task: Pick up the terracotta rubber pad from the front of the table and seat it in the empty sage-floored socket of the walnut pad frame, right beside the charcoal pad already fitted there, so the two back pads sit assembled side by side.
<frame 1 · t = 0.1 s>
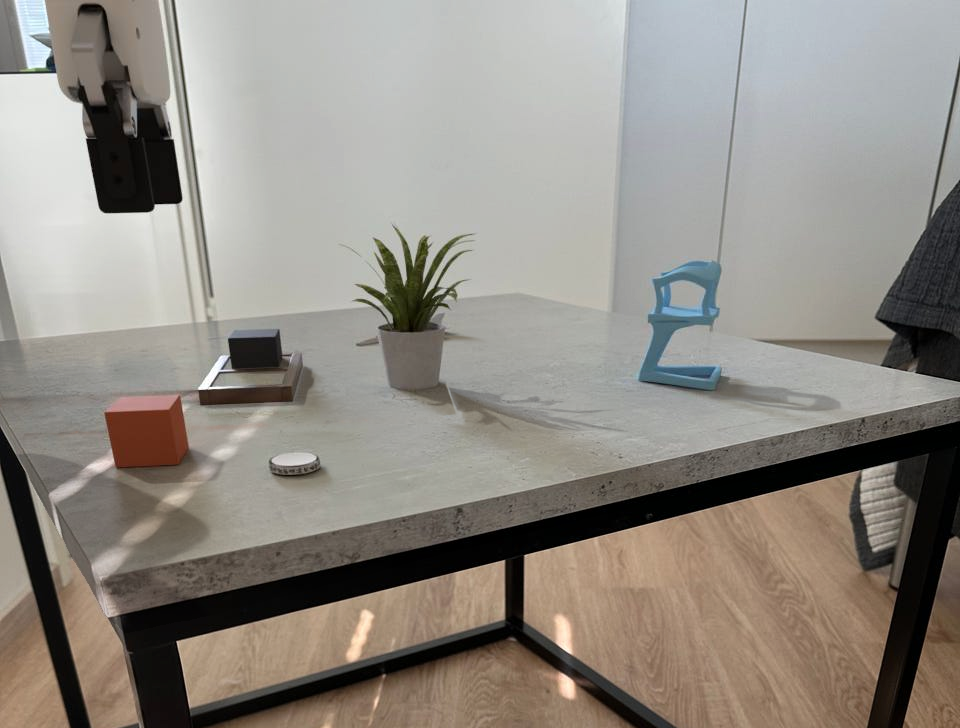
hand: (144, 207, 60), 19 cm above the table, tool pointing down, fingers open, 9 cm apart
washi tape: (295, 469, 73), on the table
toy airplane: (413, 338, 124), on the table
charcoal pad: (259, 375, 102), resting on pad frame
house plant: (426, 390, 97), on the table
terracotta pad: (153, 457, 77), on the table
chair: (678, 382, 99), on the table
pad frame: (256, 388, 98), on the table
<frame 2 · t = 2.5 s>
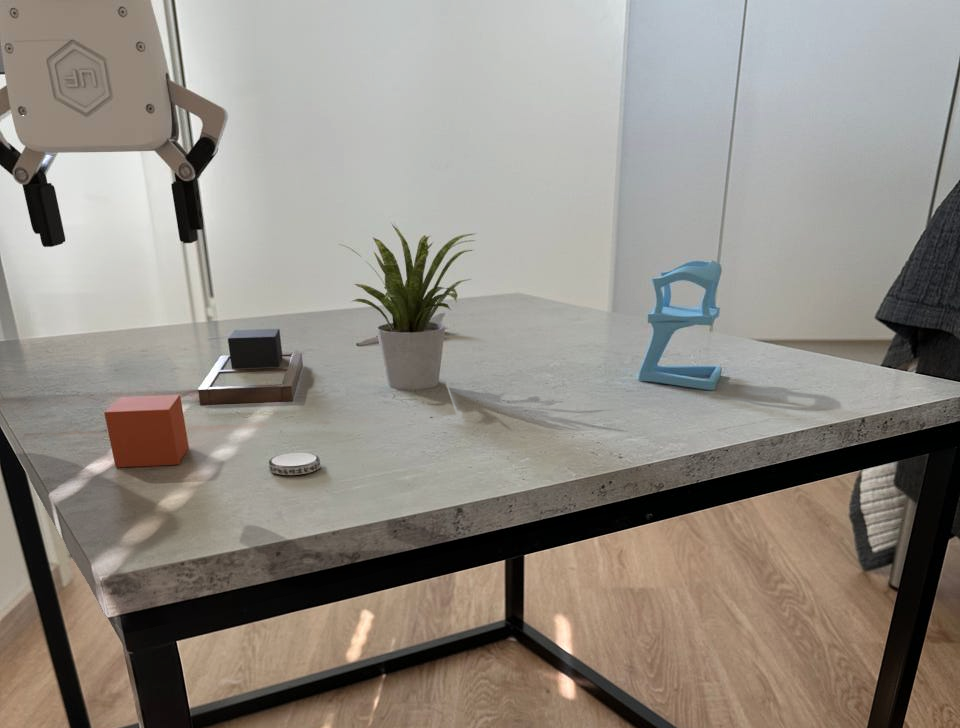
hand: (122, 243, 67), 17 cm above the table, tool pointing down, fingers open, 9 cm apart
nothing on the table moved.
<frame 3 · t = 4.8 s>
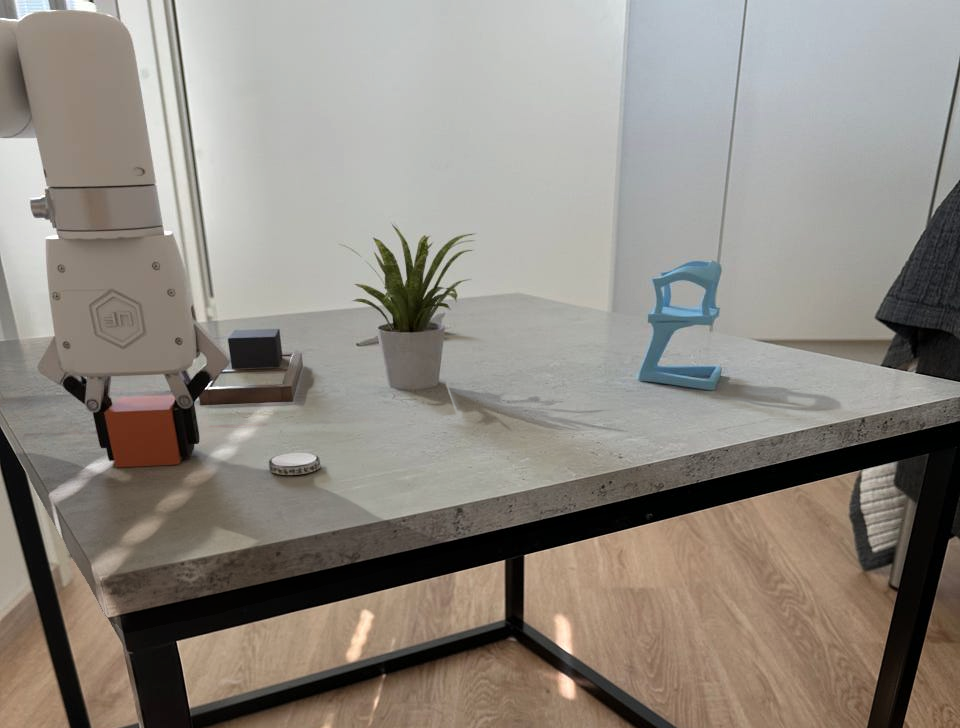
hand: (152, 452, 76), 0 cm above the table, tool pointing down, fingers closed on terracotta pad, 5 cm apart
terracotta pad: (153, 457, 77), on the table, touching gripper
everything else where it was.
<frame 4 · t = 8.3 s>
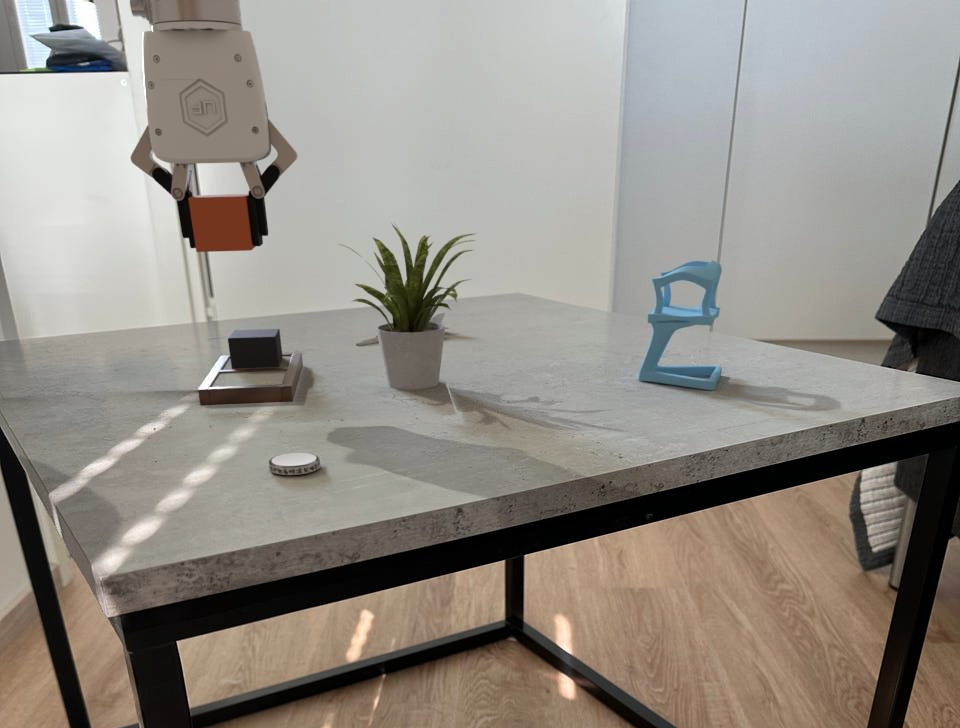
hand: (227, 243, 87), 15 cm above the table, tool pointing down, fingers closed on terracotta pad, 5 cm apart
terracotta pad: (227, 248, 87), point 14 cm above the table, touching gripper
everything else where it was.
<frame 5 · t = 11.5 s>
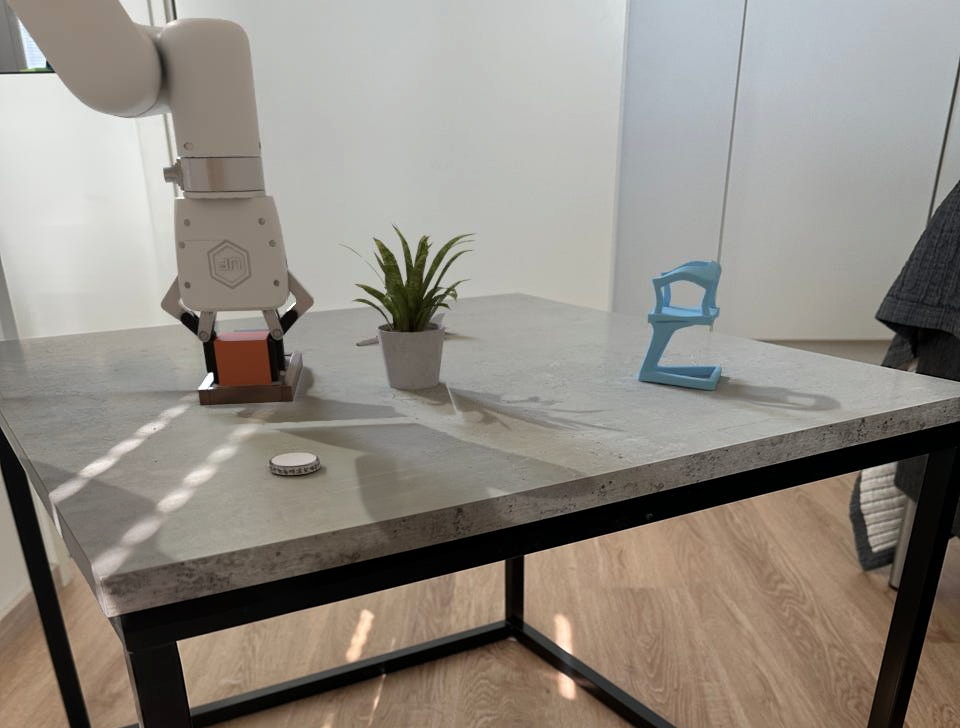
hand: (247, 377, 94), 2 cm above the table, tool pointing down, fingers closed on terracotta pad, 5 cm apart
terracotta pad: (248, 381, 94), point 2 cm above the table, touching gripper
everything else where it was.
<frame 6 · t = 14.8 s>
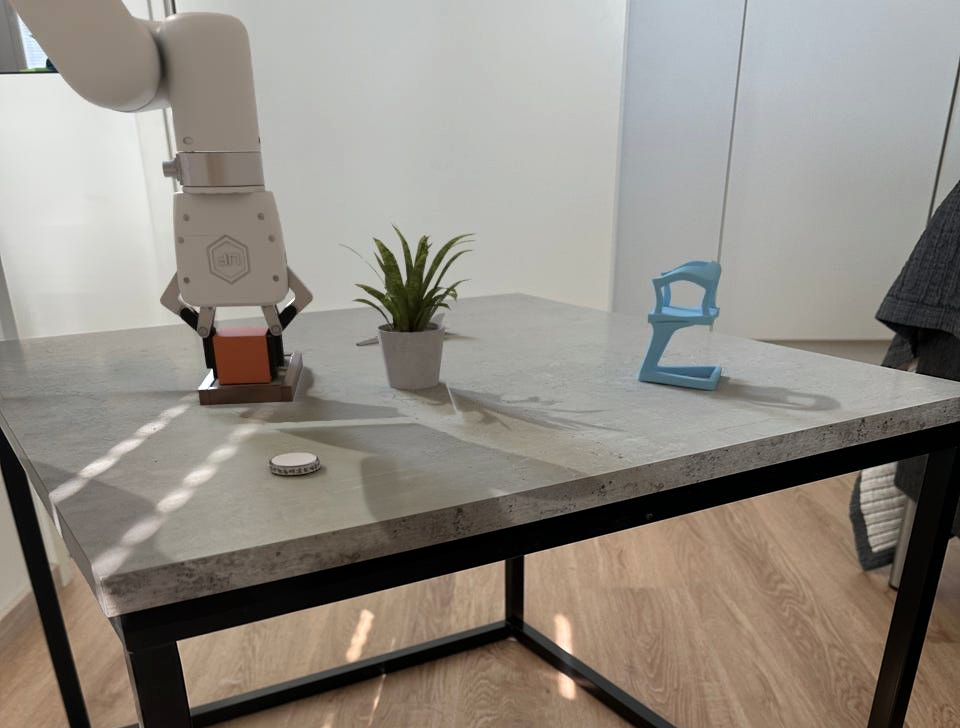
hand: (247, 373, 94), 2 cm above the table, tool pointing down, fingers closed on terracotta pad, 4 cm apart
terracotta pad: (247, 377, 94), point 2 cm above the table, touching gripper
everything else where it was.
when the fingers open (2 cm above the table, at t = 17.9 s): terracotta pad drops 1 cm, resting on pad frame.
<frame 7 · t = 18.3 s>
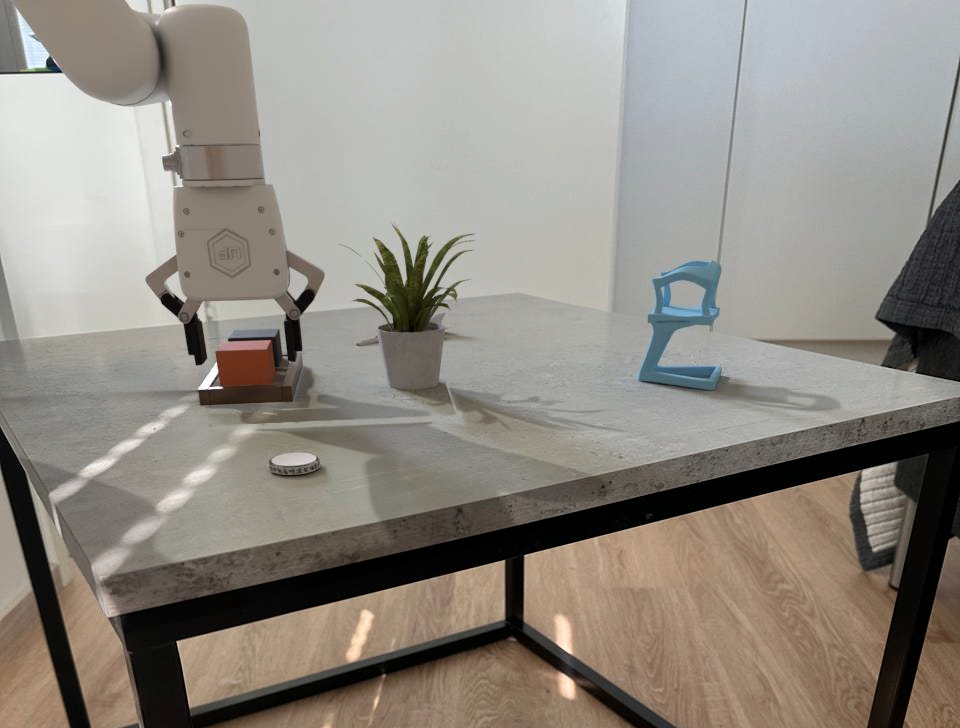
hand: (247, 360, 93), 4 cm above the table, tool pointing down, fingers open, 8 cm apart
terracotta pad: (249, 390, 94), point 1 cm above the table, touching pad frame
everything else where it was.
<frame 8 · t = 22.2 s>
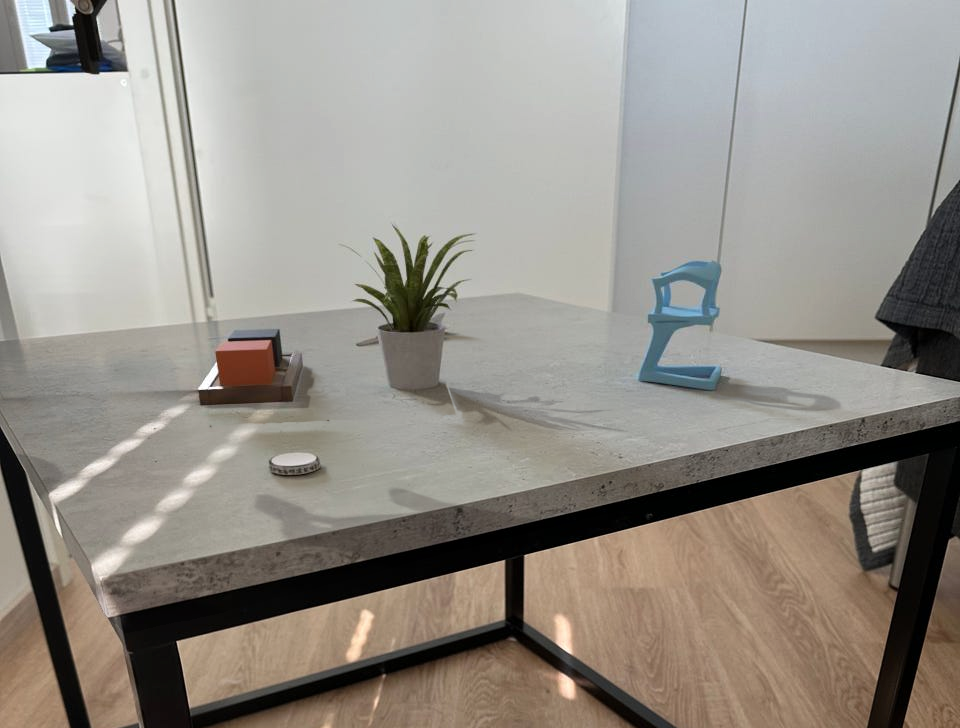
hand: (31, 73, 77), 28 cm above the table, tool pointing down, fingers open, 9 cm apart
nothing on the table moved.
at the end: terracotta pad 0.1 cm from the target spot in the pad frame, point 0.7 cm above the pad frame's base; terracotta pad tilted 0°; charcoal pad moved 0.0 cm from its start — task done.
